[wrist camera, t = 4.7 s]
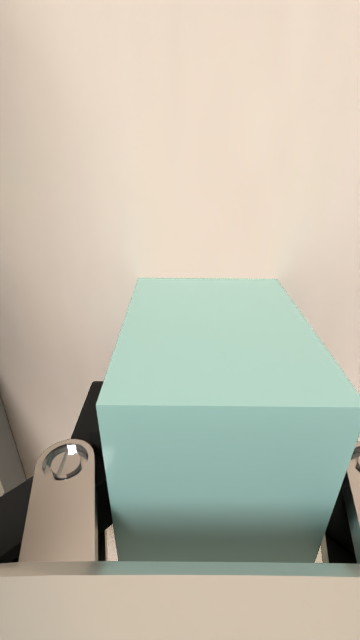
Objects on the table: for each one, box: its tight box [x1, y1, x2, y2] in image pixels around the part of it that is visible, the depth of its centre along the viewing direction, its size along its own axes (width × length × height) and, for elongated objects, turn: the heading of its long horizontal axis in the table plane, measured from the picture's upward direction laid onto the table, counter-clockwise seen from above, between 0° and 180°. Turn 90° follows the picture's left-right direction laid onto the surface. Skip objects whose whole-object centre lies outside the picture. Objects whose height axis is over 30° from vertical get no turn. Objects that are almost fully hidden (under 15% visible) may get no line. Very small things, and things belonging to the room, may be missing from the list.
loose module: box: [96, 278, 360, 563], centre depth 10 cm, size 4×7×6 cm, turn 0°
